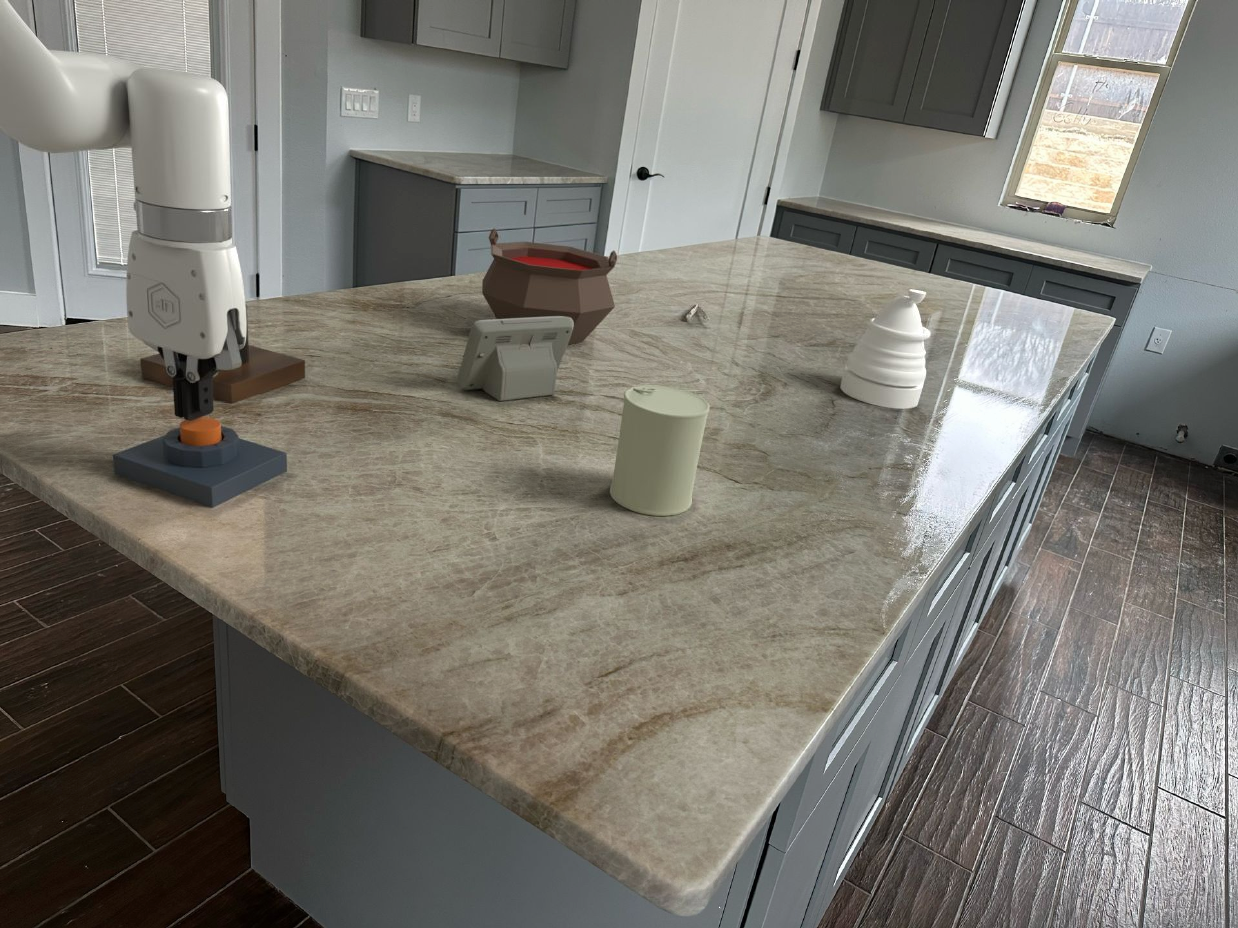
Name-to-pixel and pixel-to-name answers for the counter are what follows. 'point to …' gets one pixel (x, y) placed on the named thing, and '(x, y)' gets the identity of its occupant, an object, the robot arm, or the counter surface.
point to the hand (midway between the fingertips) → (194, 414)
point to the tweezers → (699, 312)
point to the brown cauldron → (549, 283)
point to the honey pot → (890, 357)
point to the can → (658, 449)
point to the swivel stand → (239, 374)
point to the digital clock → (515, 356)
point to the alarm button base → (201, 466)
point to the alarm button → (200, 431)
